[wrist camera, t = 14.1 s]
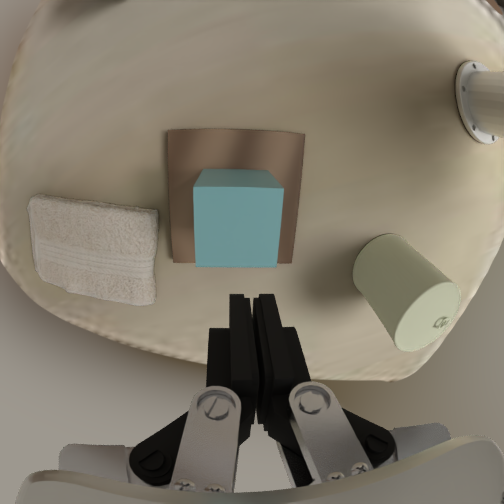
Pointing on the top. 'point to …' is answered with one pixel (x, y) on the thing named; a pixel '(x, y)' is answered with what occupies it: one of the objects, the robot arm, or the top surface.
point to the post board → (231, 157)
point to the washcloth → (95, 248)
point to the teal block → (237, 218)
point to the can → (405, 291)
